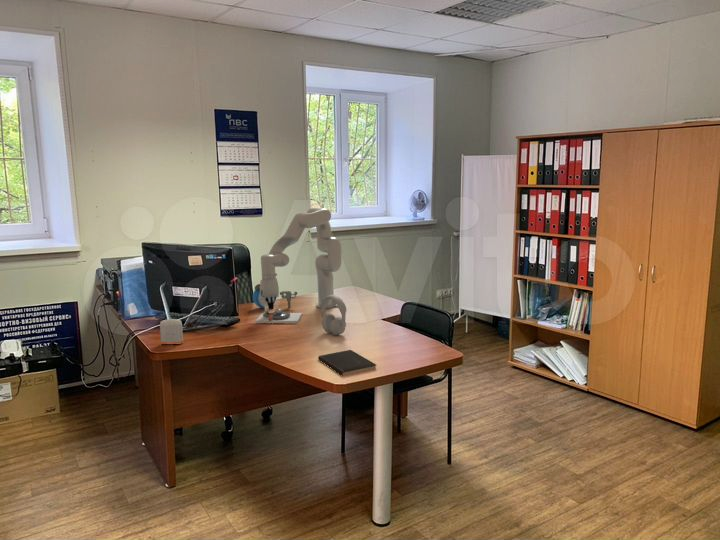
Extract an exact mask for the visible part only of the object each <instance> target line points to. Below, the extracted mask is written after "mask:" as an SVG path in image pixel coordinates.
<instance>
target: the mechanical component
mask: <svg viewBox="0 0 720 540" xmlns="http://www.w3.org/2000/svg"><path fill="white" fill-rule="evenodd" d="M279 295H280V296H281V298H282V299H286V301H287V309H291V301H292V299H295V298H296V297H297V295H298V291H294V292H293V293H292V291H290V290H289V291H288V290H287V291H286V290H285V291H283V290H282V291H279Z"/></svg>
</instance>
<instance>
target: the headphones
mask: <svg viewBox="0 0 720 540" xmlns="http://www.w3.org/2000/svg"><path fill="white" fill-rule="evenodd" d="M330 299H332V300H333V301H334V302H335V303H336V304H337V305H336V307H337V308H338V310H339V312H340V315H341V316H335V315H334V314H332V313H328V314H326V313H325V312H326V308H325V307H326V305H327V303H328V301H329V300H330ZM320 312H321V316H322V319H321V325H322V329H323V330H324V332H326V333H327V334H333V335H334V336H340V335H341V334H344V332H345V330H346V327H347V326H346V325H347V322H346V315H347V313H346V312H347V306H346V303H345V302H344V300H343V299H342V298H341V297H339V296H338V295H336V294H334V295H329V296H326V297H325V298H324V299H323V300H322V301H321V308H320Z"/></svg>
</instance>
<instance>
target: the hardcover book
mask: <svg viewBox="0 0 720 540" xmlns="http://www.w3.org/2000/svg"><path fill="white" fill-rule="evenodd" d="M317 359H319V360H320V362H321V361H322V362H323V363H322V362H321V363H322V364H324V363H325V364H326V365H325V364H324V365H325V366H327V365H328V366H329V367H328V366H327V367H328V368H330V367H331V368H332V369H333V370H332V369H331V368H330V369H331V370H332V371H334V370H335V371H336V372H335V371H334V372H335V373H337V374H338V373H339V374H338V375H340V376H341V375H342V376H341V377H343V375H344V376H348V375H353V374H357V373H362V372H366V371H371V370H376V368H377V367H376V366H378V364H376V363H374V362H372V361H371V360H369V359H368V358H366V357H364V356H362V355H361V354H359V353H357V352H356V351H354V350H351V349H346V350H340V351H336V352H331V353H327V354H321V355H319V356H318V357H317ZM319 360H318V361H319Z"/></svg>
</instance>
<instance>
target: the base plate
mask: <svg viewBox="0 0 720 540" xmlns="http://www.w3.org/2000/svg"><path fill="white" fill-rule="evenodd" d="M264 313H265V312H263V313H261V314H260V315H259V316H258V317H257V318H256V320H255V321H254V322H255V323H272V324H271V325H274V324H273V323H285V324H286V325H289V324H290V325H291V324H293V325H295V324H297V325H298V324H299V323H300V320H301V319H302V317H303V313H302V312H289V313H290V317H288V318H285V319H273V318H272V315H269V318H268V317H267V316H263V314H264ZM300 318H301V319H300Z"/></svg>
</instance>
